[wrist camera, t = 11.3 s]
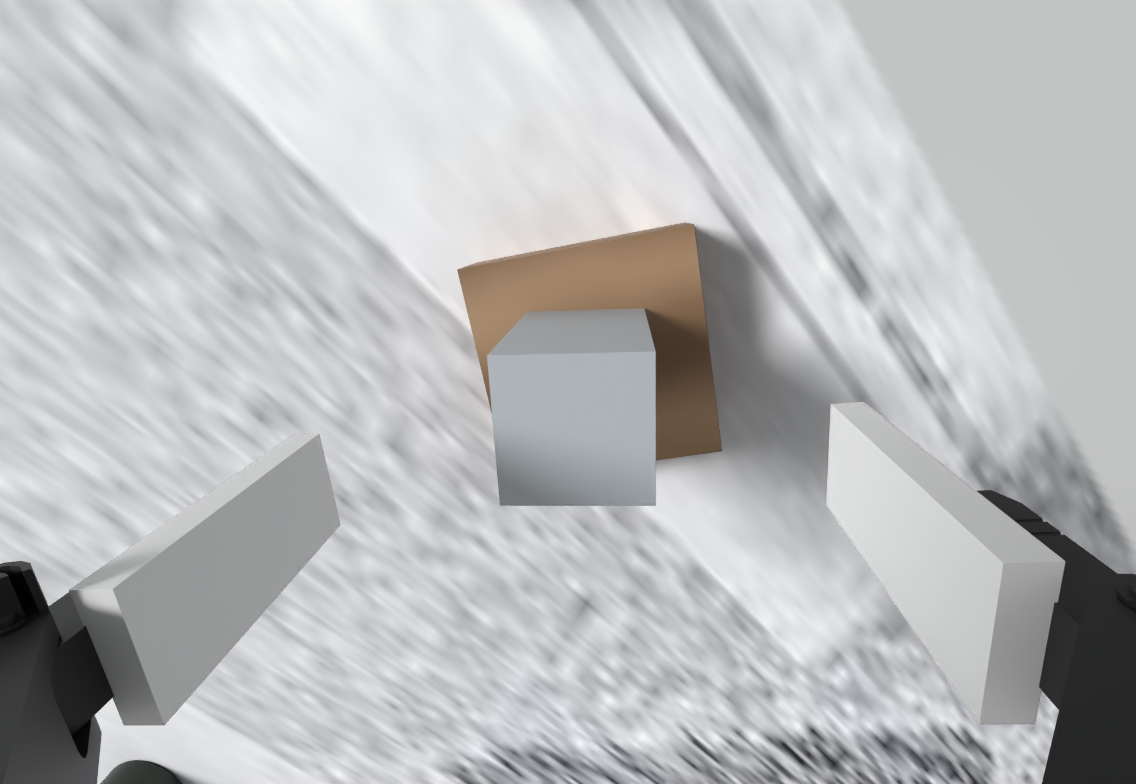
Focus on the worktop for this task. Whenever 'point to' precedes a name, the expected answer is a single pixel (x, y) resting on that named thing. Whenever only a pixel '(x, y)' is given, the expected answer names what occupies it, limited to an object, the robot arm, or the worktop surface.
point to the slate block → (575, 409)
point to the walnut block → (615, 281)
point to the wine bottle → (139, 774)
